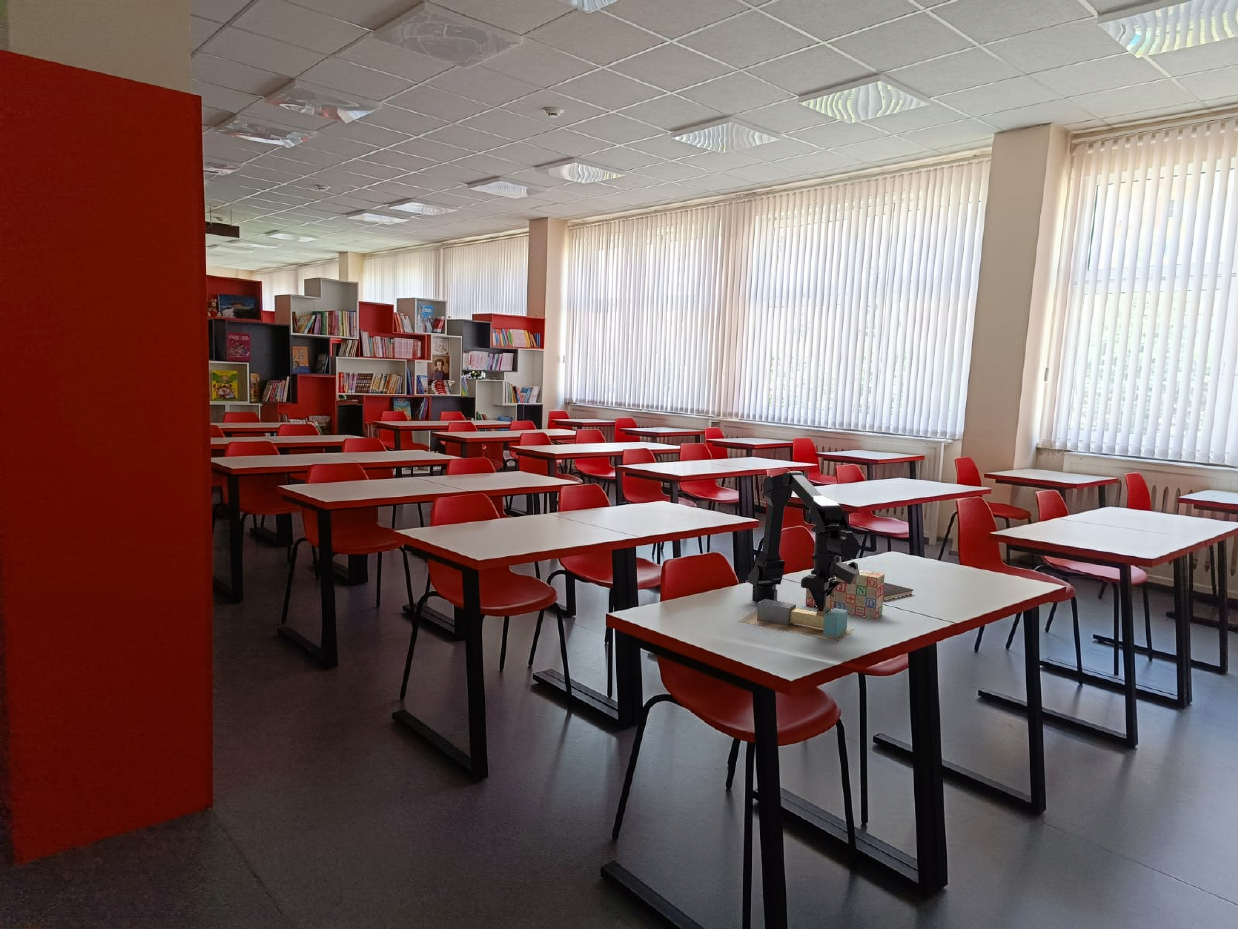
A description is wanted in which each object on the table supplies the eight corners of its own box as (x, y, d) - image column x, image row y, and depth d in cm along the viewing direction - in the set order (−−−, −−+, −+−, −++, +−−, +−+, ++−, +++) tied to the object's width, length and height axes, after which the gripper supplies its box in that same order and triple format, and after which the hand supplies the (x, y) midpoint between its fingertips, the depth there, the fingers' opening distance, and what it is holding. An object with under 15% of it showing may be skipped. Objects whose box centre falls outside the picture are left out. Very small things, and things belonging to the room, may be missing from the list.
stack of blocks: (804, 606, 228) (806, 565, 227) (813, 601, 233) (814, 562, 231) (875, 619, 215) (877, 577, 214) (882, 615, 220) (885, 573, 219)
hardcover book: (853, 581, 262) (854, 575, 262) (913, 596, 244) (913, 589, 243) (823, 587, 253) (824, 580, 253) (883, 603, 234) (883, 596, 234)
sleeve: (757, 620, 207) (757, 602, 207) (764, 616, 211) (765, 598, 211) (788, 626, 202) (788, 608, 202) (795, 622, 206) (795, 604, 206)
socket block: (823, 635, 195) (824, 614, 195) (833, 628, 202) (834, 608, 201) (836, 637, 193) (837, 617, 193) (846, 630, 200) (847, 610, 199)
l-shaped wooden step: (771, 618, 206) (772, 587, 205) (775, 616, 208) (777, 585, 208) (832, 630, 196) (833, 598, 196) (836, 627, 199) (837, 595, 198)
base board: (737, 624, 206) (737, 621, 206) (757, 614, 217) (757, 610, 217) (838, 645, 191) (838, 641, 190) (854, 632, 201) (854, 629, 201)
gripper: (844, 561, 185) (841, 623, 187) (867, 550, 201) (864, 607, 202) (801, 555, 192) (798, 615, 193) (826, 544, 207) (823, 600, 208)
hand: (823, 609), depth 199 cm, fingers closed on l-shaped wooden step, 3 cm apart
